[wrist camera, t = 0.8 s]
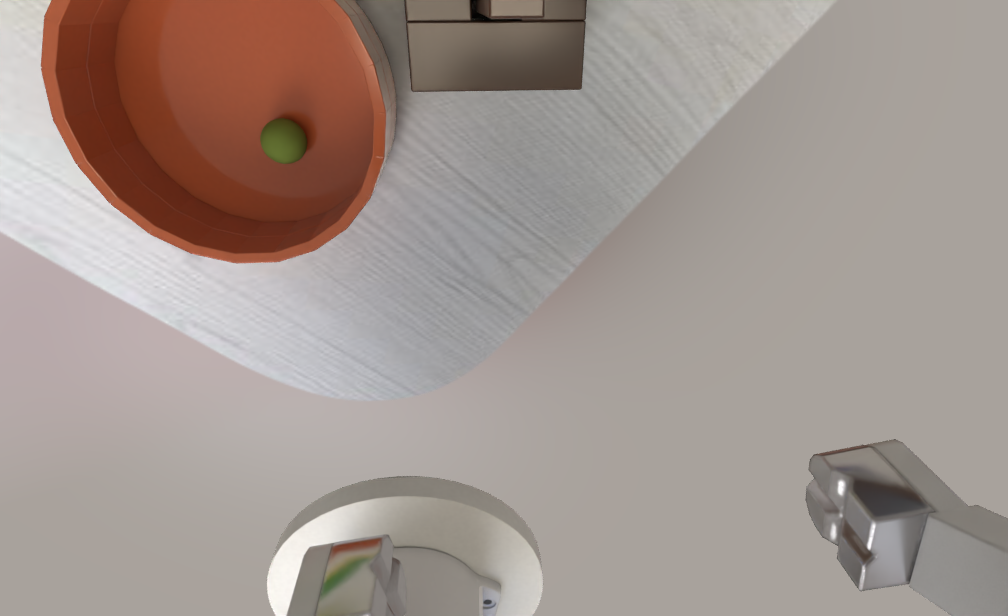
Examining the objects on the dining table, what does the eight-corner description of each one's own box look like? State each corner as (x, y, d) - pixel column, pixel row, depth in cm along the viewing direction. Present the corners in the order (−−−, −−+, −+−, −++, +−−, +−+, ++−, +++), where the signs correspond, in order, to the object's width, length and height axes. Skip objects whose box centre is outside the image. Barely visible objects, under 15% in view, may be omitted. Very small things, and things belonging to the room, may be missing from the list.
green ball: (315, 157, 32) (304, 168, 30) (272, 158, 32) (259, 169, 30) (307, 114, 31) (296, 122, 29) (263, 115, 31) (249, 123, 29)
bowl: (408, 224, 35) (400, 258, 30) (157, 230, 34) (108, 267, 29) (383, -65, 28) (367, -79, 23) (62, -66, 27) (-24, -81, 22)
